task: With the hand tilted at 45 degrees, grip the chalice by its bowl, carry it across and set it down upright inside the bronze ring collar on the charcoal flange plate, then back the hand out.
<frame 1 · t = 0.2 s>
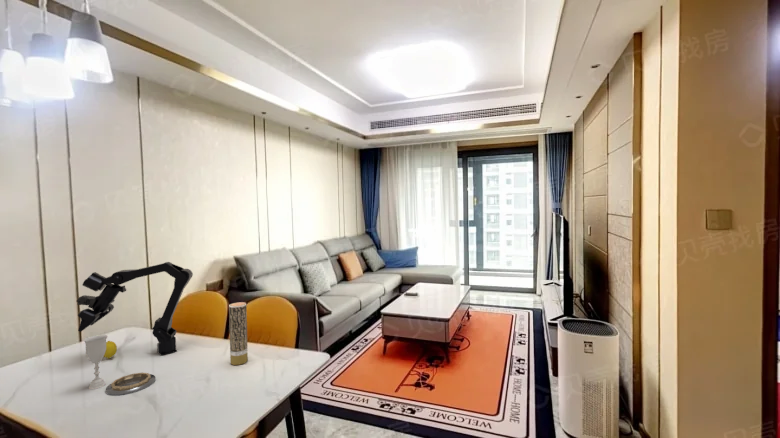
hand: (85, 328, 153), 15 cm above the table, tool tilted 35°, fingers open, 9 cm apart
lemon: (109, 359, 157), on the table
collar: (131, 385, 131), on the table
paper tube: (239, 362, 150), on the table
chalice: (97, 386, 131), on the table
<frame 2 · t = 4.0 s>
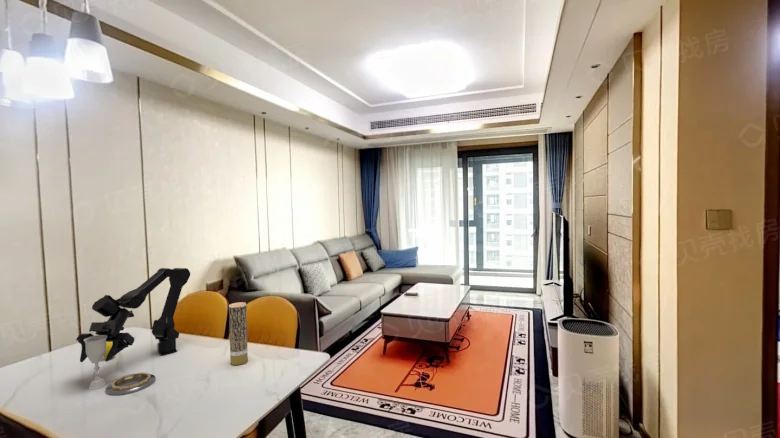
hand: (93, 361, 130), 10 cm above the table, tool tilted 45°, fingers open, 9 cm apart
chalice: (97, 386, 131), on the table, touching gripper
everything else where it was.
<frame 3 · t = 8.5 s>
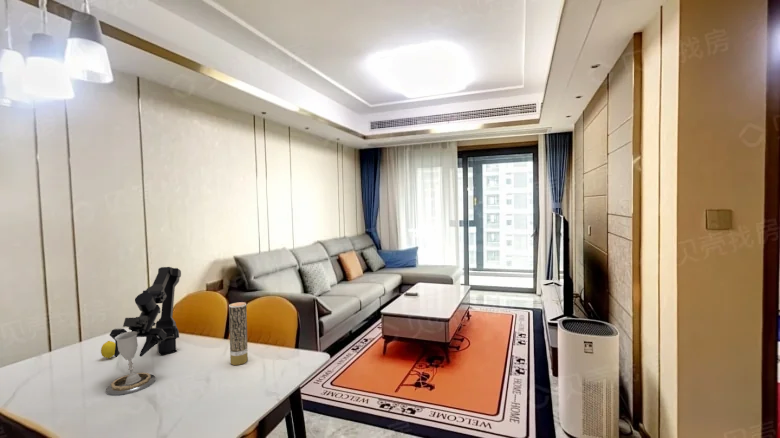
hand: (127, 356, 130), 11 cm above the table, tool tilted 45°, fingers open, 9 cm apart
chalice: (133, 381, 132), point 1 cm above the table, touching collar, gripper
everything else where it was.
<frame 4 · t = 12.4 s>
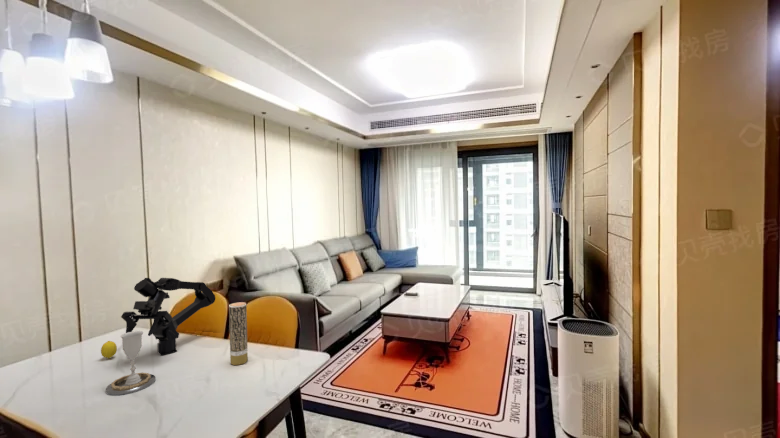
hand: (137, 335, 146), 14 cm above the table, tool tilted 45°, fingers open, 9 cm apart
chalice: (133, 382, 132), point 1 cm above the table, touching collar
everything else where it was.
at the end: chalice 1.1 cm off-centre on the collar, point 0.6 cm above the collar's base; chalice tilted 0°; the gripper is holding nothing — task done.
